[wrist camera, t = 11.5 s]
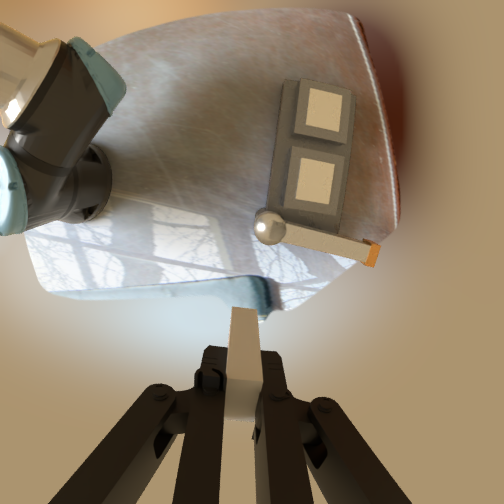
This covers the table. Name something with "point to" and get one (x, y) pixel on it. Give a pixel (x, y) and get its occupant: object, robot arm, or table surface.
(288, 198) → the grey stepped block base
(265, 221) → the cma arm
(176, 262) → the table surface
